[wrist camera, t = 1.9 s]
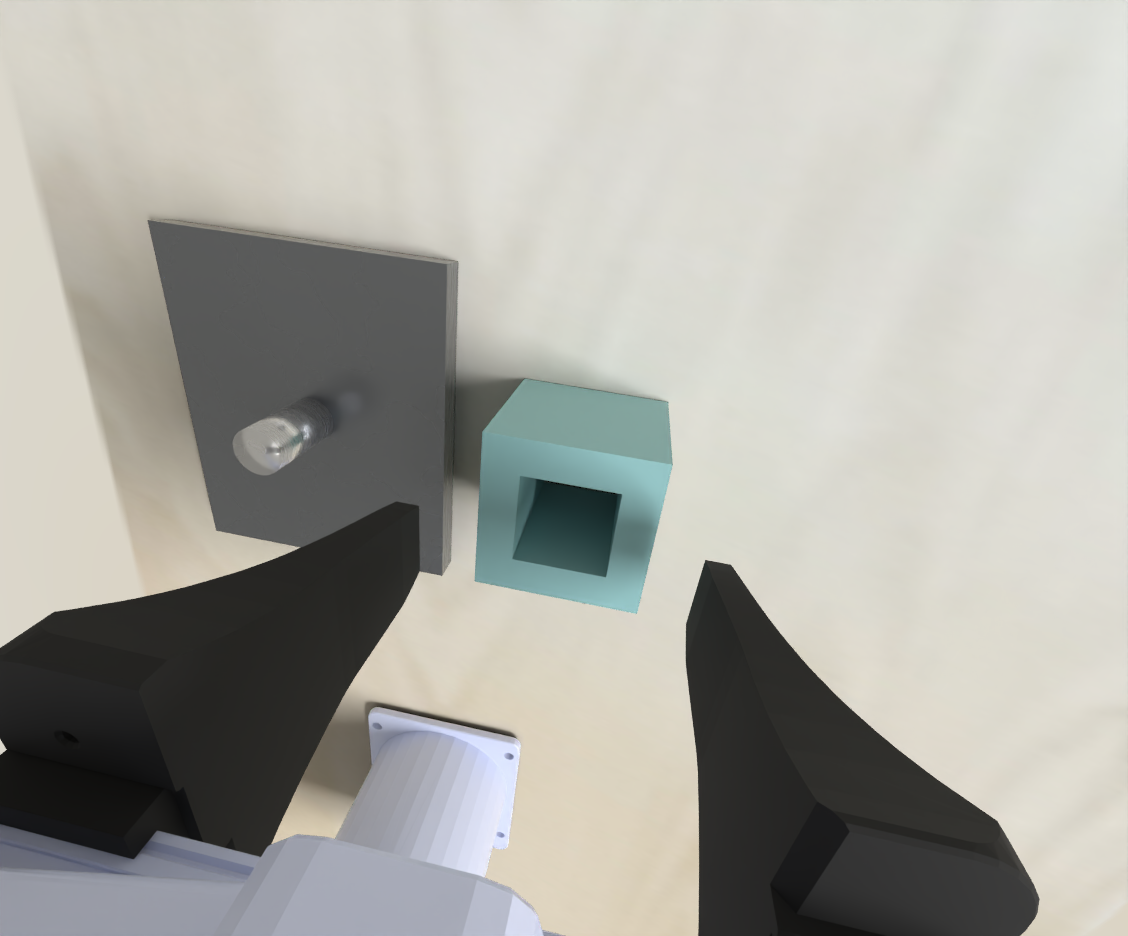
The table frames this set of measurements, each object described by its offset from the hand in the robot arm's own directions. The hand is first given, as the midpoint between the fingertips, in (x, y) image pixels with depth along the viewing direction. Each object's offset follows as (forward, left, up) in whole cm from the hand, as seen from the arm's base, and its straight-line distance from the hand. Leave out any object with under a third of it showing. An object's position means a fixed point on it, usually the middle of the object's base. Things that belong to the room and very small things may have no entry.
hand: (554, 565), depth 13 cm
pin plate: (0, +10, -7) cm, 12 cm away
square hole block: (0, 0, -7) cm, 7 cm away
